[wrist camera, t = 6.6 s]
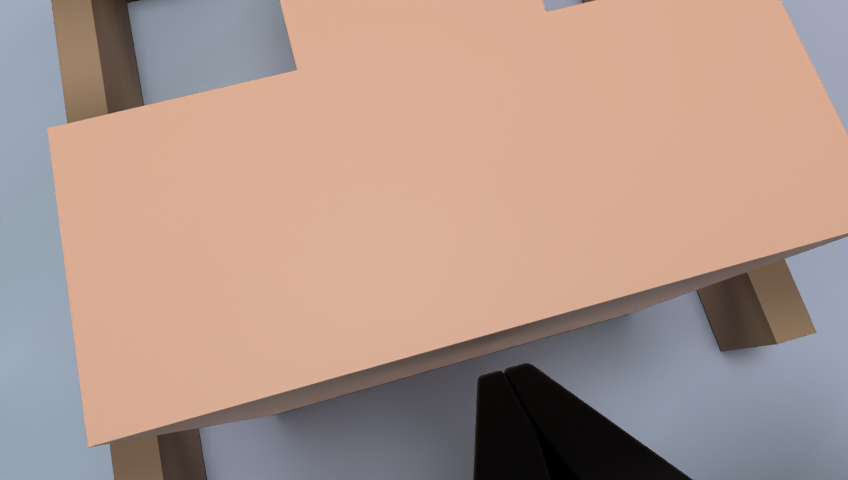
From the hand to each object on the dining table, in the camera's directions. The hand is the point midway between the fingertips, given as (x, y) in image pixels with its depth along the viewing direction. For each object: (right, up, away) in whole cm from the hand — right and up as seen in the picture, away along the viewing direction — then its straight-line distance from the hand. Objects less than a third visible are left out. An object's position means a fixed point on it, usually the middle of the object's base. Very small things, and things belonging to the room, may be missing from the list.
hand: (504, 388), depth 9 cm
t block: (-2, +5, +8) cm, 9 cm away
